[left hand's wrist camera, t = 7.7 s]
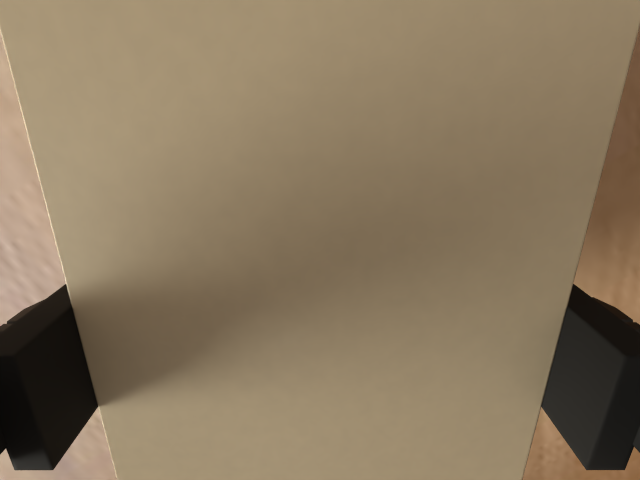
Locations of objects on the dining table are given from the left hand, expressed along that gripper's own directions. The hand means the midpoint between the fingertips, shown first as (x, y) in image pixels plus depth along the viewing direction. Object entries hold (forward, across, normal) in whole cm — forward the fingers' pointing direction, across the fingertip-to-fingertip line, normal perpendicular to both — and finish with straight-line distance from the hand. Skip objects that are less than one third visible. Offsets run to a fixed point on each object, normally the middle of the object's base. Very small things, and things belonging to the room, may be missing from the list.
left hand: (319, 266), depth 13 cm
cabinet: (+5, 0, -6) cm, 8 cm away
